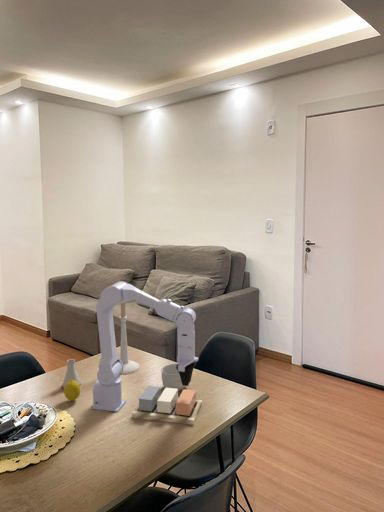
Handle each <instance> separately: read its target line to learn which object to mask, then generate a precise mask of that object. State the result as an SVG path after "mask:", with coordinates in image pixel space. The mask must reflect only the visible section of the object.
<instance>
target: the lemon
mask: <svg viewBox="0 0 384 512" xmlns="http://www.w3.org/2000/svg"><path fill="white" fill-rule="evenodd" d="M80 394H81V385H80V386H79V383H78V382H77V381H74V380H71V381H69V382H68V383H67V384H66V385H65V388H64V396H65V398H66V400H69V401H71V402H74V401H75V400H77V399H78V398H79V396H80Z"/></svg>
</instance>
